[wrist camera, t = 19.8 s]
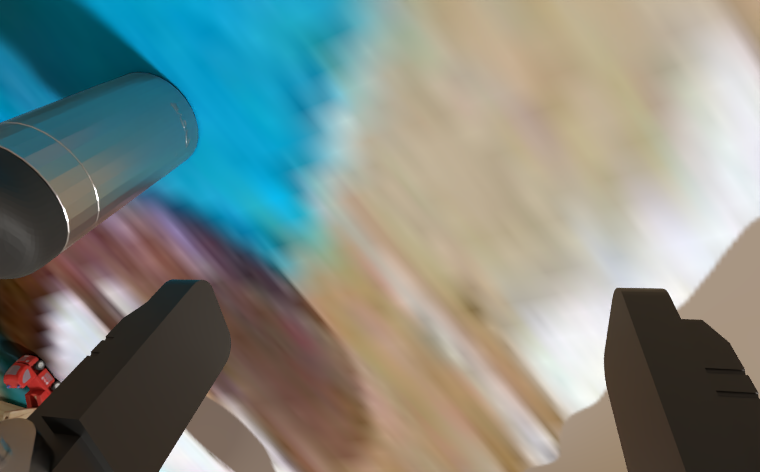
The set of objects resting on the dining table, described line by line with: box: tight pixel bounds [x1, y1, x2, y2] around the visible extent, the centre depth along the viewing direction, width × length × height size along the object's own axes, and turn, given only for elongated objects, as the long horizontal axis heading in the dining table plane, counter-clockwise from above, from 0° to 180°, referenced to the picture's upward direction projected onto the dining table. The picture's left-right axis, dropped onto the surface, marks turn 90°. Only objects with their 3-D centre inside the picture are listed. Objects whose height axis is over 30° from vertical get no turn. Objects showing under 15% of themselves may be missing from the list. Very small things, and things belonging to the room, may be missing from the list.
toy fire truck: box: [3, 355, 61, 420], centre depth 71 cm, size 3×14×10 cm, turn 13°
